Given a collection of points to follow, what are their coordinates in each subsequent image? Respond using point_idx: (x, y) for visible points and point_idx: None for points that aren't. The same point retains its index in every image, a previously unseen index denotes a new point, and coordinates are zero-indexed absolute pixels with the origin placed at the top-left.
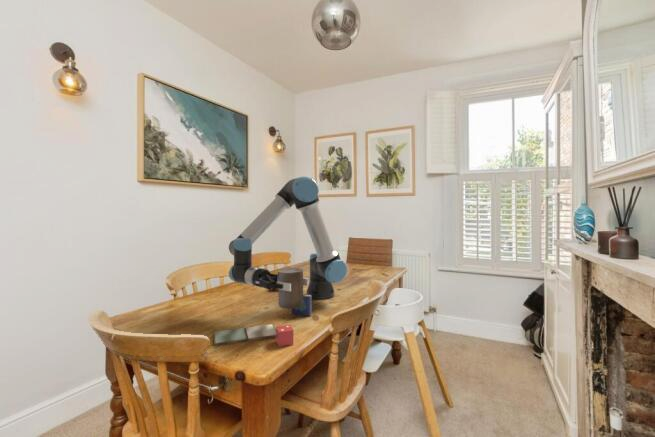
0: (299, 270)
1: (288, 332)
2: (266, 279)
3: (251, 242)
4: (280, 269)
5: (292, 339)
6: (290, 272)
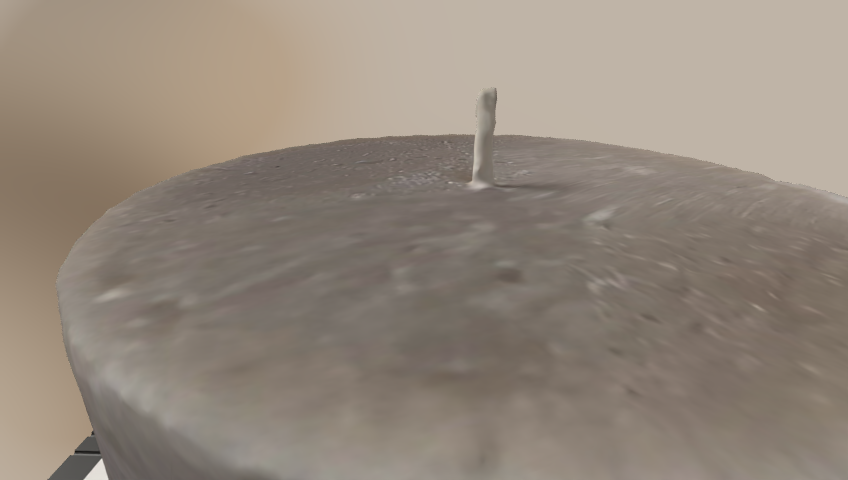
0: (431, 138)
1: None
2: None
3: None
4: (783, 443)
5: None
6: (653, 151)
